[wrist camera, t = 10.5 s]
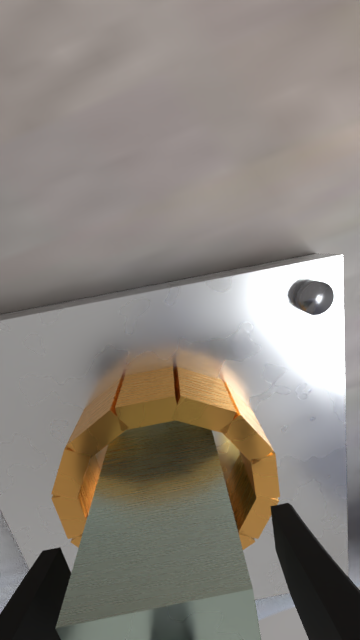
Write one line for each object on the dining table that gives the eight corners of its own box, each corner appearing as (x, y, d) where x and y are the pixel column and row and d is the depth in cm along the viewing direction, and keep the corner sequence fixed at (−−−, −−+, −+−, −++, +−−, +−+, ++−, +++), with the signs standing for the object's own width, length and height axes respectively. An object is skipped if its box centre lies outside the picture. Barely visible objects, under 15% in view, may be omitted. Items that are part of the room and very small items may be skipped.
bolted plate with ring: (316, 253, 13) (392, 256, 9) (329, 546, 18) (380, 638, 14) (-46, 323, 13) (-153, 361, 9) (73, 596, 18) (44, 705, 14)
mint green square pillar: (205, 405, 13) (275, 673, 5) (218, 478, 14) (292, 791, 6) (114, 423, 13) (28, 723, 5) (135, 494, 14) (95, 831, 6)
